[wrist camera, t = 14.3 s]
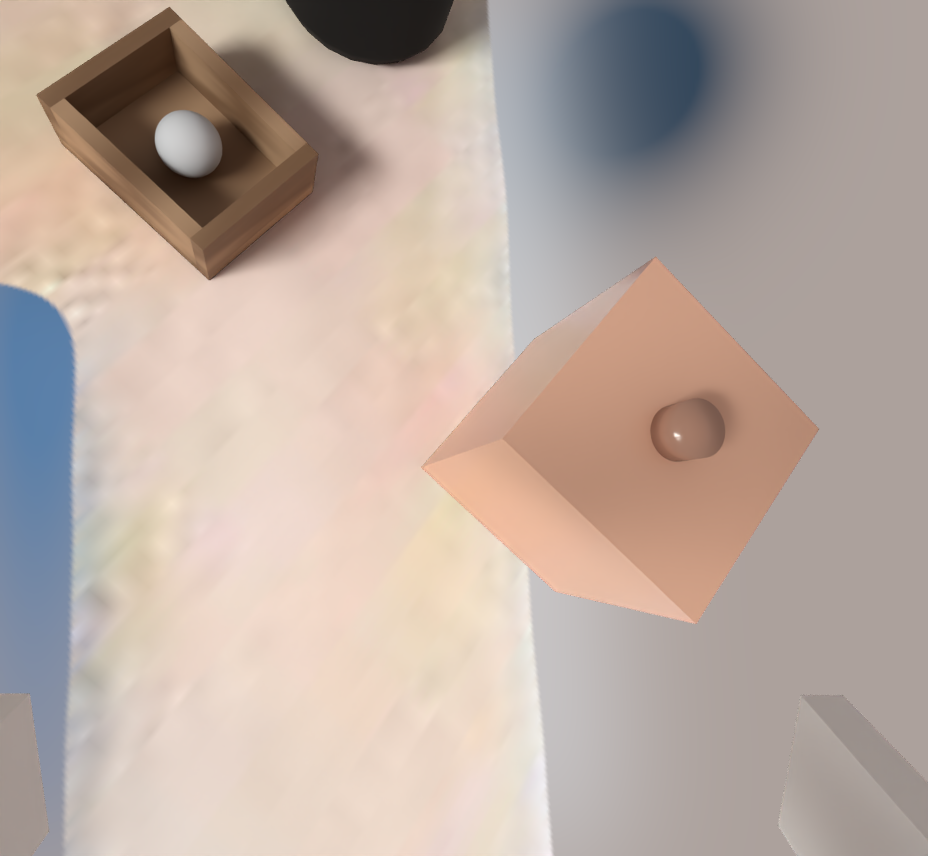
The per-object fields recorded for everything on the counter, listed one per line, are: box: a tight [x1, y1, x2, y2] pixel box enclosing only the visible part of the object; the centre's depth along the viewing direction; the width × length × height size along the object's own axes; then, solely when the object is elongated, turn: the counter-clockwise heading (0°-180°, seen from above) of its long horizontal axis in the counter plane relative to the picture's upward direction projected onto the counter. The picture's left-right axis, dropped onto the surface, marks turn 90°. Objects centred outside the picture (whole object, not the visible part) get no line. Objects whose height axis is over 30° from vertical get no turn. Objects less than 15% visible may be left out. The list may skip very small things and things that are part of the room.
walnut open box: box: [37, 7, 318, 280], centre depth 33 cm, size 10×8×4 cm
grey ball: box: [155, 110, 222, 178], centre depth 33 cm, size 3×3×3 cm
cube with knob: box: [421, 257, 819, 624], centre depth 32 cm, size 11×11×15 cm
